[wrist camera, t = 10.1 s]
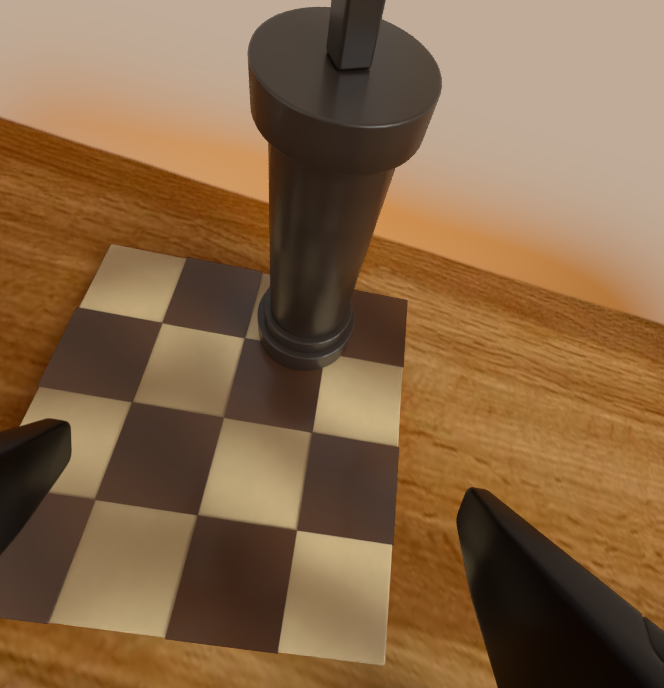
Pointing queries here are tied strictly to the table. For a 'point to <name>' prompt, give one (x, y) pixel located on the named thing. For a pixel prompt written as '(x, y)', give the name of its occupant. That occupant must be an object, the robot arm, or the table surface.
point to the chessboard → (214, 470)
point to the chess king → (330, 160)
